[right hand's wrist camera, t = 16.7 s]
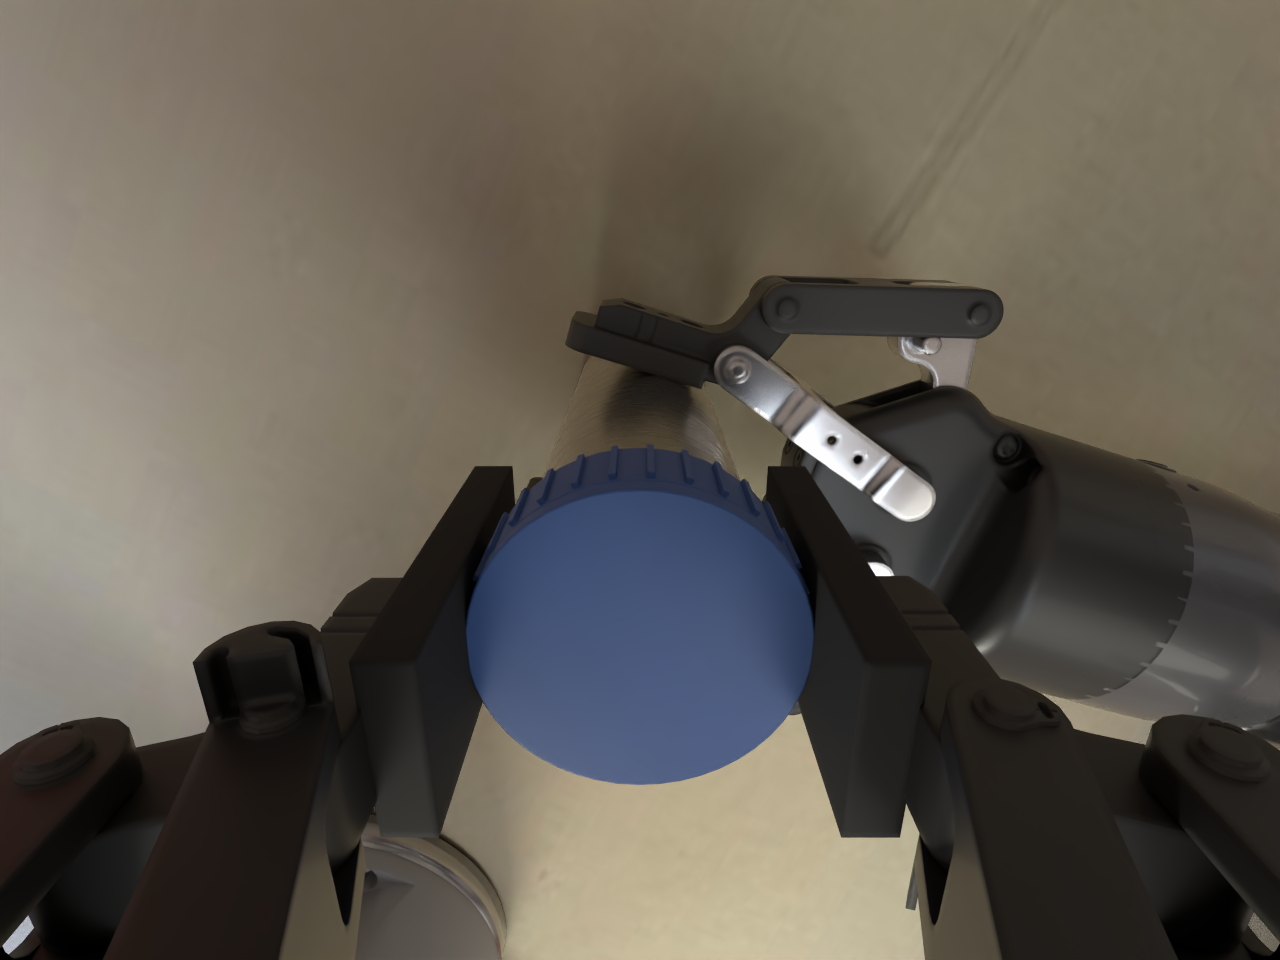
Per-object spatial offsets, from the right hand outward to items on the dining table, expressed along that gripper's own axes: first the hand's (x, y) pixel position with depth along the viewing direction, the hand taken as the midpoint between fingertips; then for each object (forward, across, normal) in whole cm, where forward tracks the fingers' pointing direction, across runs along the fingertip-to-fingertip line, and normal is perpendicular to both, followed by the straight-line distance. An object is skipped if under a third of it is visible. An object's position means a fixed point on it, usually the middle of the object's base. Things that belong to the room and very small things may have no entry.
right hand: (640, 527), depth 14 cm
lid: (-4, 0, 0) cm, 4 cm away
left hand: (+6, -2, +1) cm, 6 cm away
